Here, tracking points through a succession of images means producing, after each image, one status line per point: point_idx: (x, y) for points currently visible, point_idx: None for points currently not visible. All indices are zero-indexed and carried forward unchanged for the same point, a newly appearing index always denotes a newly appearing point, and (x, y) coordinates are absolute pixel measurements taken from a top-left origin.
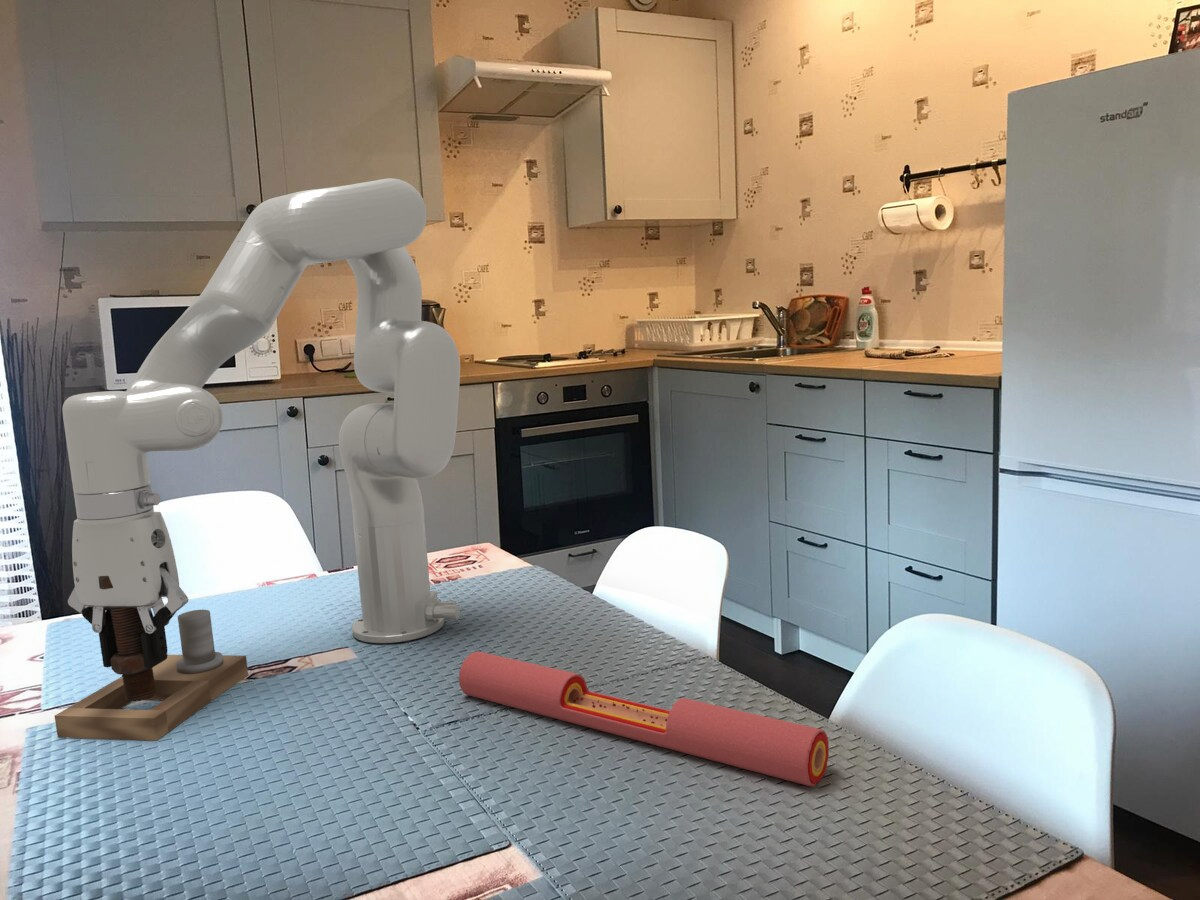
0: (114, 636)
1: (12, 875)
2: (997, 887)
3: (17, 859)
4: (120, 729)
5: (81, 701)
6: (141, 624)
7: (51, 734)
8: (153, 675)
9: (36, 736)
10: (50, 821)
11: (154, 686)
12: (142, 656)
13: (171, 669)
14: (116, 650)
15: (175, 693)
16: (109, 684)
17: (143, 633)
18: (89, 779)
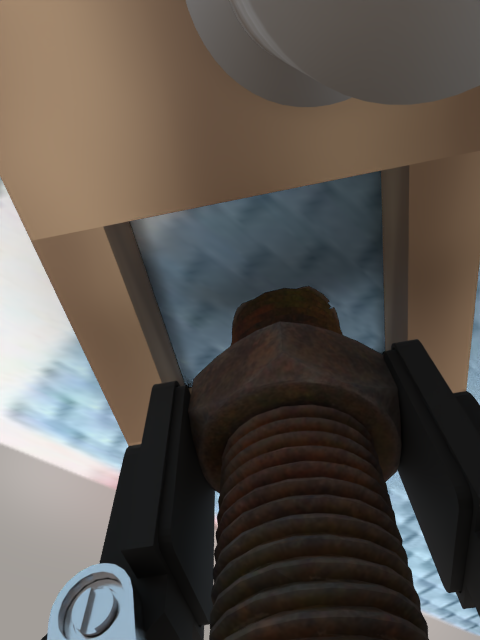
0: (195, 553)
1: (474, 632)
2: None
3: (455, 620)
4: None
5: (121, 409)
6: (420, 609)
7: (115, 422)
8: (330, 328)
9: (89, 436)
10: (432, 579)
11: (338, 322)
12: (390, 476)
13: (182, 65)
14: (201, 479)
15: (415, 288)
16: (60, 288)
17: (467, 598)
18: (398, 509)
